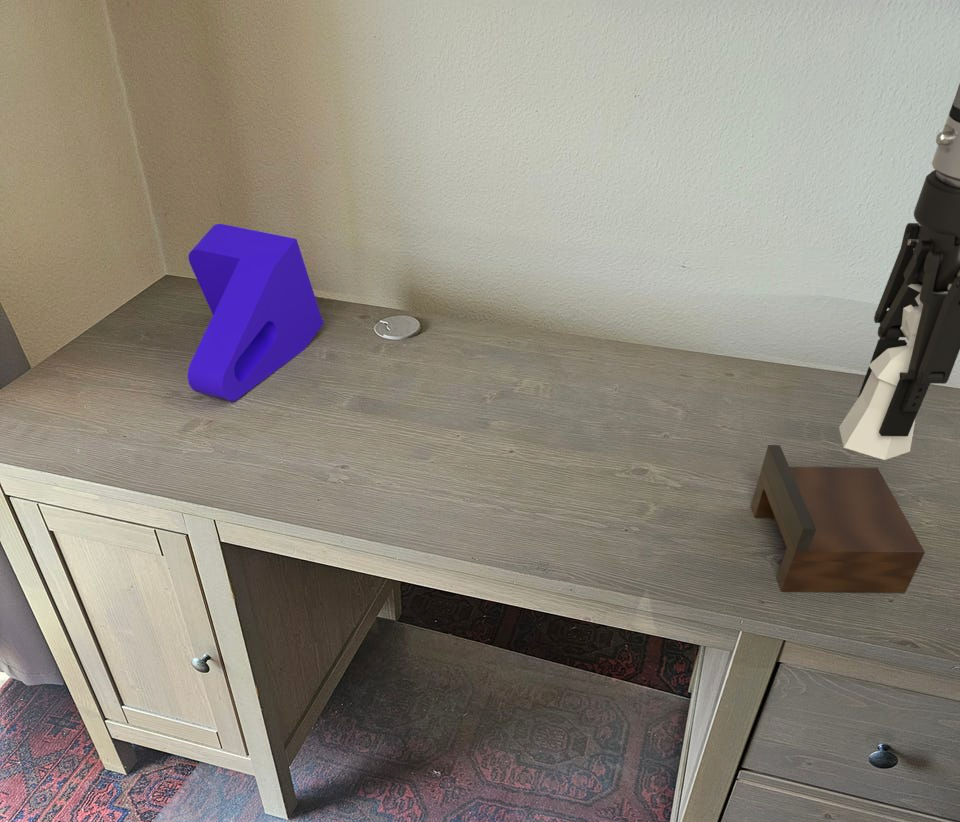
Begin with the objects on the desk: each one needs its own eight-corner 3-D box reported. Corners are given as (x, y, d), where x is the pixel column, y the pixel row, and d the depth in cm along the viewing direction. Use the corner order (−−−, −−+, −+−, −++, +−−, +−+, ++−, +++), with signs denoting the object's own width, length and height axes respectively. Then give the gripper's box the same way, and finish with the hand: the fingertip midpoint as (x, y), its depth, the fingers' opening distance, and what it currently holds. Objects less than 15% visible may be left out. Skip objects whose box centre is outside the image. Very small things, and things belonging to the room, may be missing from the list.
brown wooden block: (861, 507, 108) (886, 445, 102) (905, 593, 97) (936, 530, 90) (750, 506, 108) (768, 444, 102) (781, 592, 97) (803, 528, 90)
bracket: (323, 323, 139) (239, 304, 143) (296, 238, 126) (205, 220, 130) (242, 433, 128) (155, 408, 133) (204, 353, 115) (108, 328, 120)
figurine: (924, 445, 91) (999, 275, 78) (870, 466, 88) (938, 293, 76) (874, 415, 96) (936, 249, 83) (820, 433, 93) (877, 264, 80)
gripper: (893, 141, 80) (821, 370, 97) (976, 217, 67) (875, 468, 83) (973, 142, 80) (887, 371, 97) (1072, 218, 67) (952, 469, 83)
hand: (882, 415), depth 90 cm, fingers closed on figurine, 6 cm apart
